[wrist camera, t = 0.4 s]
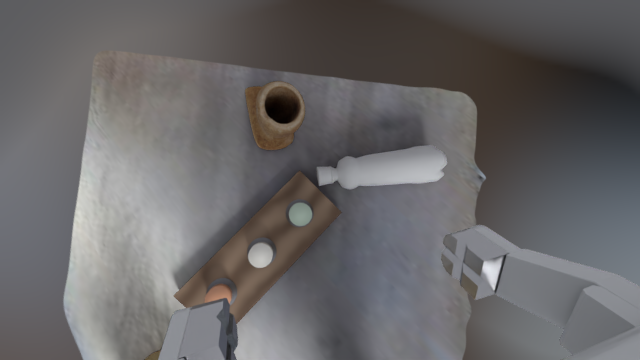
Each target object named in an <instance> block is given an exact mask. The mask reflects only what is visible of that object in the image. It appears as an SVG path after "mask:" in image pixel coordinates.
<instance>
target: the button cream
mask: <svg viewBox="0 0 640 360" xmlns="http://www.w3.org/2000/svg"><path fill="white" fill-rule="evenodd" d="M272 257H273V250H272V247H271V246H270V245H269V244H268V243H265V242H258V243H256V244H254V245H253V246H252V248H251V249H250V251H249V254H248V259H249V262H250V263H251V265H253V266H254V267H257V268H263V267H266V266H267V265H268V264H269V263H270V262H271V260H272Z"/></svg>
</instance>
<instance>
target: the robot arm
mask: <svg viewBox="0 0 640 360" xmlns="http://www.w3.org/2000/svg"><path fill="white" fill-rule="evenodd" d="M443 244H444V246H445V248H444V250H443V251H442V254H441V261H442V264H443V267H444V268H445V270H446V271H447V272H448V273H449V274H450V275H451V276H452V277H454V278H456V279H459V280H460V285H461V286H462V287H463V288H464V289H465V290H466V291H467V292H468V293H469V294H470V295H471V296H472V297H473V298H474V299H475V300H477V299H480V298H483V297H486V296H489V295H493V294H496V295H497V296H499V297H501V298H503V299H505V300H507V301H509V302H511V303H513V304H515V305H517V306H519V307H521V308H522V309H524V310H526V311H528V312H531V313H532V314H534V315H536V316H538V317H540V318H542V319H544V320H546V321H548V322H550V323H552V324H554V325H556V326H558V327H560V328H562V329H564V331H563V333H562V335H561V337H560V339H559V340H560V344H561V345H562V346H563V347H564V348H565V349H566V350H567V351H568V352H570V353H571V354H572V355H571V356H569V357H567V358H564V359H562V360H640V287H639V286H638V285H636V284H633V283H632V282H630V281H629V280H627V279H624V278H623V277H621V276H619V275H617V274H613V273H610V272H606V271H603V270H599V269H596V268H592V267H589V266H585V265H582V264H578V263H574V262H571V261H567V260H564V259H560V258H556V257H553V256H550V255H546V254H542V253H538V252H535V251H532V250H528V249H523V250H521V249H520V248H518V247H517V246H515V245H514V244H512V243H511V242H509V241H507V240H506V239H504V238H503V237H501V236H500V235H498V234H497V233H495V232H493V231H492V230H490V229H489V228H487V227H486V226H483V225H477V226H474V227H471V228H468V229H464V230H460V231H457V232H454V233H450V234H447V235H445V237H444V238H443ZM229 312H230V304H229V302H228V299H227V298H222V299H218V300H214V301H211V302H207V303H203V304H199V305H195V306H193V307H189V308H185V309H181V310H177V311H175V312H174V314H173V315H172V317H171V320H170V323H169V327H168V330H167V333H166V336H165V339H164V342H163V345H162V349H161V352H160V355H159V358H158V360H237V359H236V357H235V354H234V351H235V349H236V347H237V346H238V334H237V325H236V321H235V317H234V315H233V314H231V313H229Z"/></svg>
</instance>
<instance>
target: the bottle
mask: <svg viewBox="0 0 640 360" xmlns="http://www.w3.org/2000/svg"><path fill="white" fill-rule="evenodd" d="M446 165H447V159H446V155H445V153H444V152H442V151H440V150H438V148H437V147H435V146H433V145H426V146H415V147H412V148H409V149H402V150H396V151H390V152H383V153H377V154H370V155H365V156H362V157H359V158H354V157H350V156H346V157H344V158H342V159H341V160H339V161H338V164H337V167H336V168H333V167H331V166H329V167H317V168H316V172H317V181H318V185H319V186H321V185H326V184H330V183H331V184H333V182H335V181H336V180H337V181H338V182H339V184H340V185H341V187H343V188H346V189H349V190H350V189H353V188H356V187H357V186H359V185H360V186H377V185H390V184H403V183H415V184H417V183H425V182H433V181H438V180H439V179H440V178H441V177H442V176H443V175H444V172H443V171H442V169H443V168H444V167H445V166H446Z"/></svg>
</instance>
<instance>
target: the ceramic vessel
mask: <svg viewBox="0 0 640 360" xmlns="http://www.w3.org/2000/svg"><path fill="white" fill-rule="evenodd" d="M160 352H161V350H159V351H157V352H154V353H153V354H151V355H150V356H148V357H147V358H146V359H144V360H158V358H159V355H160Z"/></svg>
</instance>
